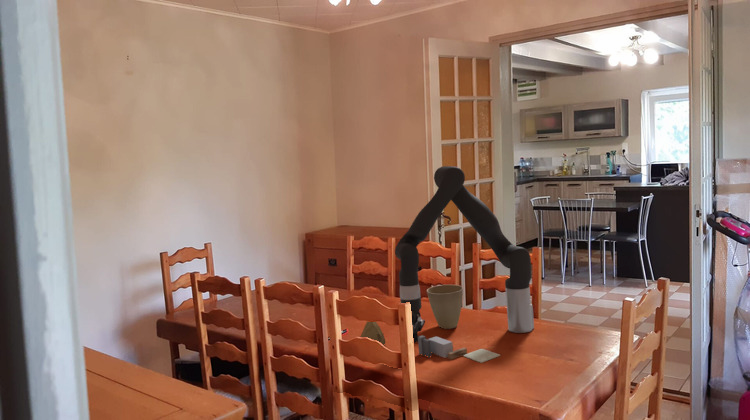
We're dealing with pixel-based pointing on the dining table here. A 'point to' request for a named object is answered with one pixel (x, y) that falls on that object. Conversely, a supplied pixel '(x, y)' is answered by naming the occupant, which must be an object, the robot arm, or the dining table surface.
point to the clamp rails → (457, 353)
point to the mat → (481, 355)
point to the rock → (373, 332)
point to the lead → (441, 346)
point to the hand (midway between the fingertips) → (414, 341)
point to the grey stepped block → (424, 346)
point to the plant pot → (446, 304)
